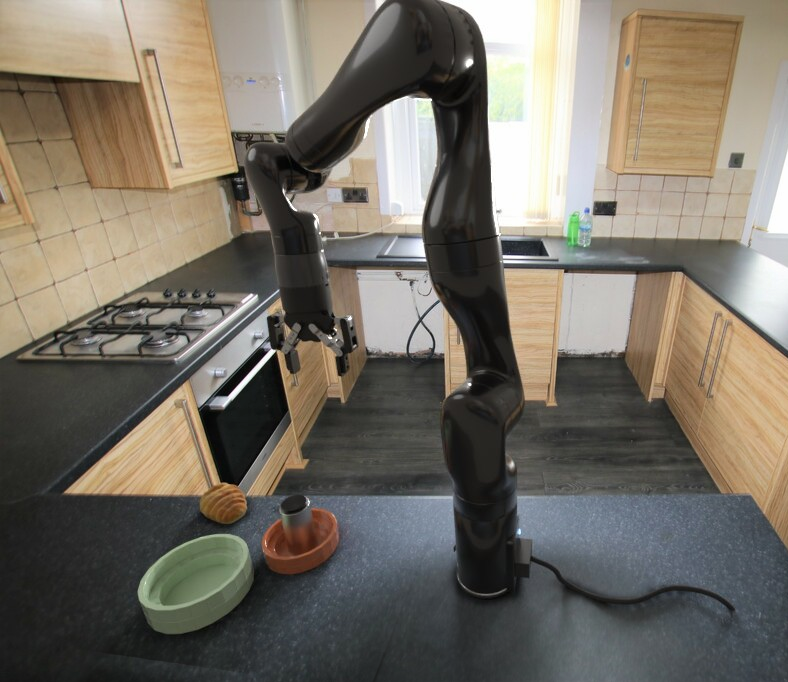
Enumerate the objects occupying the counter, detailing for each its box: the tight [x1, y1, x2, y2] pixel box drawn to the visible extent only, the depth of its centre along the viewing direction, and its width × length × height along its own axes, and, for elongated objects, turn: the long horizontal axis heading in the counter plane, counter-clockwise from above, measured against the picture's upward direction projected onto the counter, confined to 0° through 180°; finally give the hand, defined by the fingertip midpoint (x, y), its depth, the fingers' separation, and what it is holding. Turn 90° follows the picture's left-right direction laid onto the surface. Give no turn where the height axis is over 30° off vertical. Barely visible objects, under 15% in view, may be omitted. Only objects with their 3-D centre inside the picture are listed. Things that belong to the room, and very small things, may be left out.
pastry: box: [198, 482, 248, 525], centre depth 85 cm, size 9×7×4 cm
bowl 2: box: [261, 507, 340, 576], centre depth 77 cm, size 11×11×4 cm
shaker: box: [278, 493, 317, 556], centre depth 76 cm, size 4×4×9 cm
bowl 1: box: [137, 533, 255, 635], centre depth 69 cm, size 13×14×5 cm
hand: (319, 373), depth 80 cm, fingers open, 8 cm apart
